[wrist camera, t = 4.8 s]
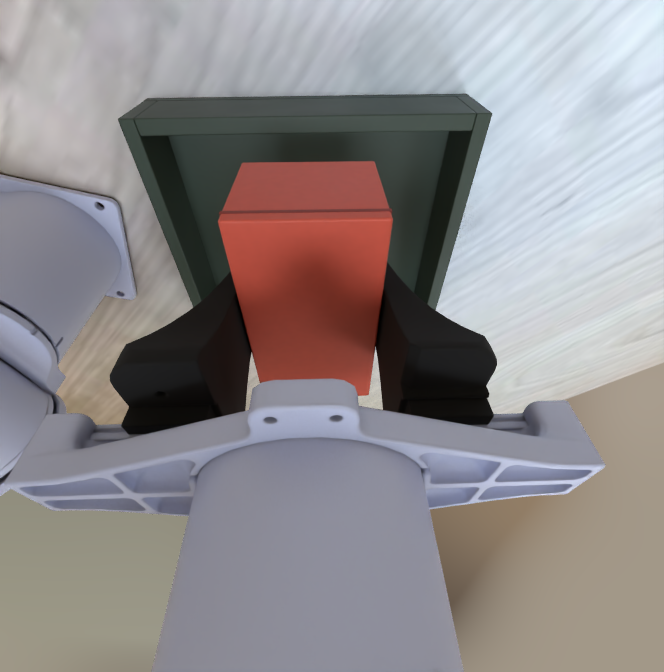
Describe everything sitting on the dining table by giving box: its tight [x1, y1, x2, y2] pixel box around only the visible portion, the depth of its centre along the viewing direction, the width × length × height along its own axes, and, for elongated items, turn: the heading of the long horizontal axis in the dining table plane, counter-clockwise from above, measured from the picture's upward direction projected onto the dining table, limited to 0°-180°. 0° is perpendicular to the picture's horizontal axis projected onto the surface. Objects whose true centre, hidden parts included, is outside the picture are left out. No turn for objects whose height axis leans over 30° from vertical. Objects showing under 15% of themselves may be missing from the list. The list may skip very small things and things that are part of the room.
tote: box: [118, 94, 492, 310], centre depth 21 cm, size 16×14×4 cm
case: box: [218, 161, 393, 396], centre depth 14 cm, size 5×9×4 cm, turn 0°
